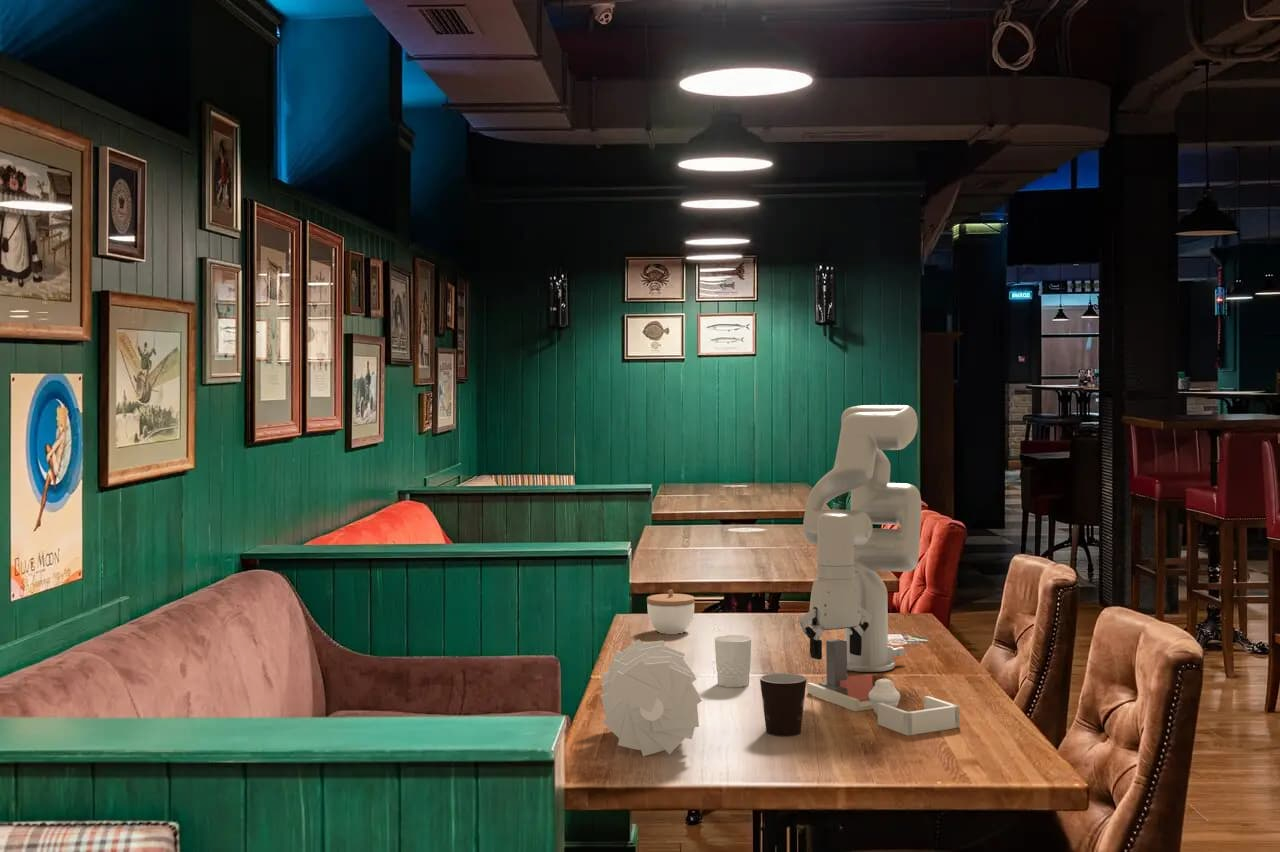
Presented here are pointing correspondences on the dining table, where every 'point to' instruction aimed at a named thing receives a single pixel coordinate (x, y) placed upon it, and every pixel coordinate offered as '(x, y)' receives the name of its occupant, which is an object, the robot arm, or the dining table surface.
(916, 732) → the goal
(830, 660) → the block
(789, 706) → the coffee mug
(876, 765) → the dining table surface
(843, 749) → the dining table surface
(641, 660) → the spiral staircase
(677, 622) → the lidded bowl
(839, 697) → the track
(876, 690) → the white ribbed dome
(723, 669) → the white cup
